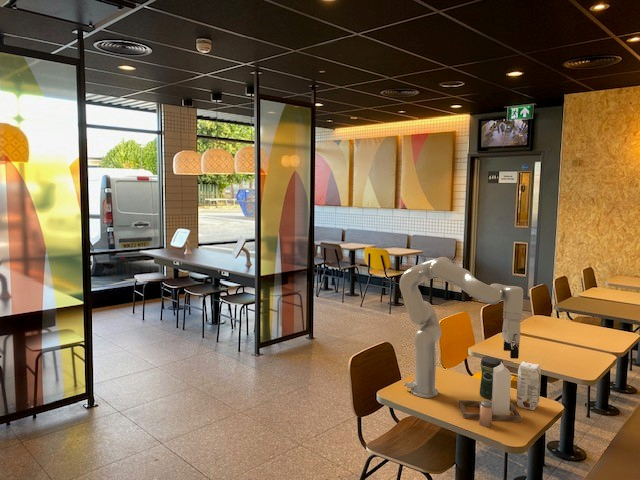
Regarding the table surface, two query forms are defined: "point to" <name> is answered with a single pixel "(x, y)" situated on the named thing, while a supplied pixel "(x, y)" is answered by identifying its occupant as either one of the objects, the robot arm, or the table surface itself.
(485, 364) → the coffee jar
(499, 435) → the table surface
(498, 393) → the milk
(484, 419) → the shaker
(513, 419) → the organizer
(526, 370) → the juice carton
